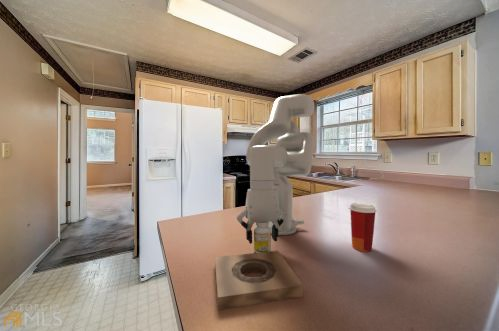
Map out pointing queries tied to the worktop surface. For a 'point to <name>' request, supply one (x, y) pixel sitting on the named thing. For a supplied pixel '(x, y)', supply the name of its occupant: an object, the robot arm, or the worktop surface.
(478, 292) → the worktop surface
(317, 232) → the worktop surface
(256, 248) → the supplement bottle
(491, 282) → the worktop surface
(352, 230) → the paper cup
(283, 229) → the robot arm
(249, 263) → the seat board
